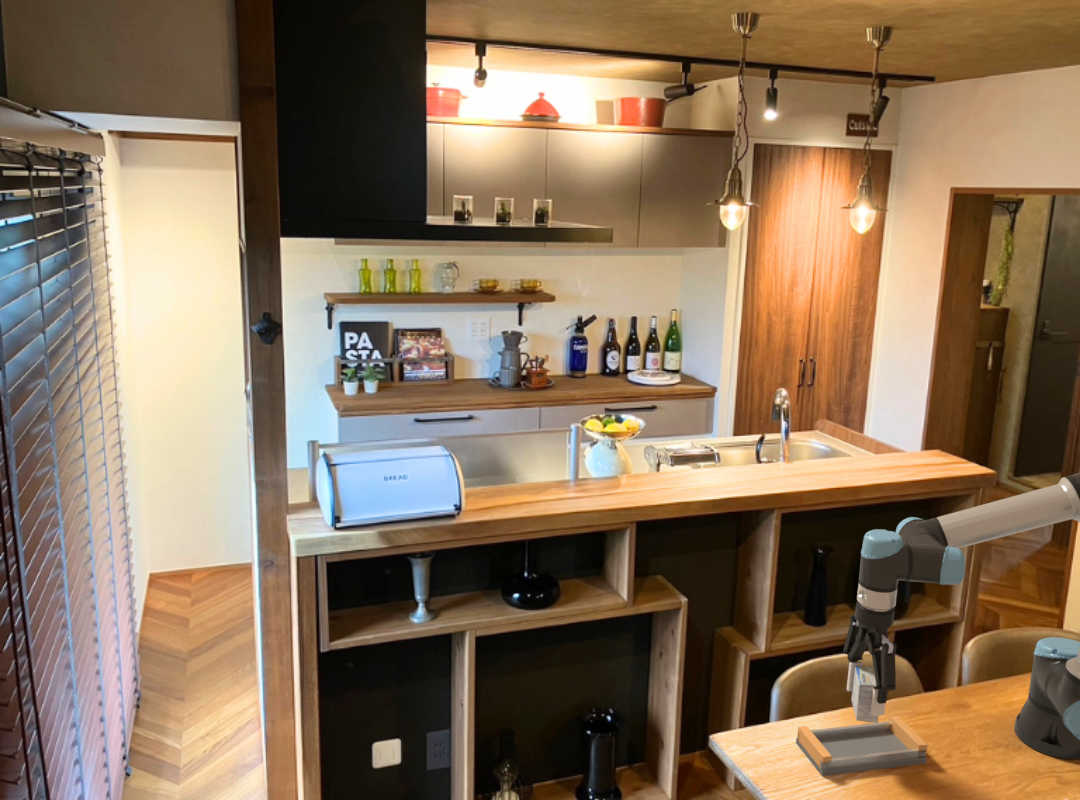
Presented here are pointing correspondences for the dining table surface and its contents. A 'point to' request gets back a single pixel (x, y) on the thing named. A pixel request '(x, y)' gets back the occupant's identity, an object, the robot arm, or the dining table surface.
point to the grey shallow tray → (862, 747)
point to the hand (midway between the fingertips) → (864, 701)
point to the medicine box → (863, 693)
